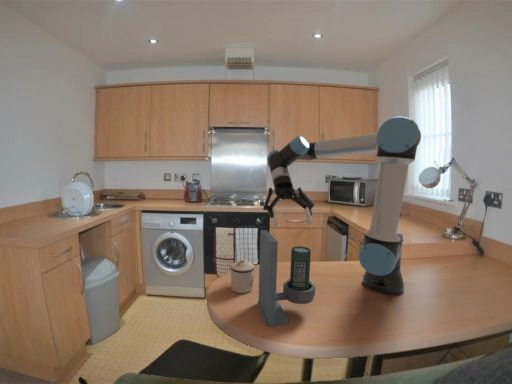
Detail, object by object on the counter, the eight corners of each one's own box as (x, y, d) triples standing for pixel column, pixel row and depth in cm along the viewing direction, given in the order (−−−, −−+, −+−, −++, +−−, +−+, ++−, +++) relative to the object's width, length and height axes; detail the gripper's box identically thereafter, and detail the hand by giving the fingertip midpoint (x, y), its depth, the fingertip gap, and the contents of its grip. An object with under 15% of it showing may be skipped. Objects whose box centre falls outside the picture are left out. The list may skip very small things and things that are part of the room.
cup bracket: (303, 298, 96) (306, 228, 93) (320, 321, 82) (325, 240, 80) (257, 302, 92) (258, 230, 90) (266, 327, 79) (269, 242, 76)
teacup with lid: (255, 293, 99) (256, 263, 98) (231, 295, 98) (232, 264, 96) (250, 279, 111) (250, 252, 110) (228, 280, 109) (228, 253, 108)
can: (309, 290, 90) (311, 247, 88) (307, 299, 84) (310, 253, 83) (291, 287, 91) (293, 245, 90) (288, 296, 86) (290, 251, 84)
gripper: (306, 186, 117) (320, 227, 104) (251, 186, 111) (259, 230, 98) (312, 174, 111) (328, 217, 98) (254, 174, 105) (262, 219, 93)
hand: (293, 223), depth 98 cm, fingers open, 13 cm apart
